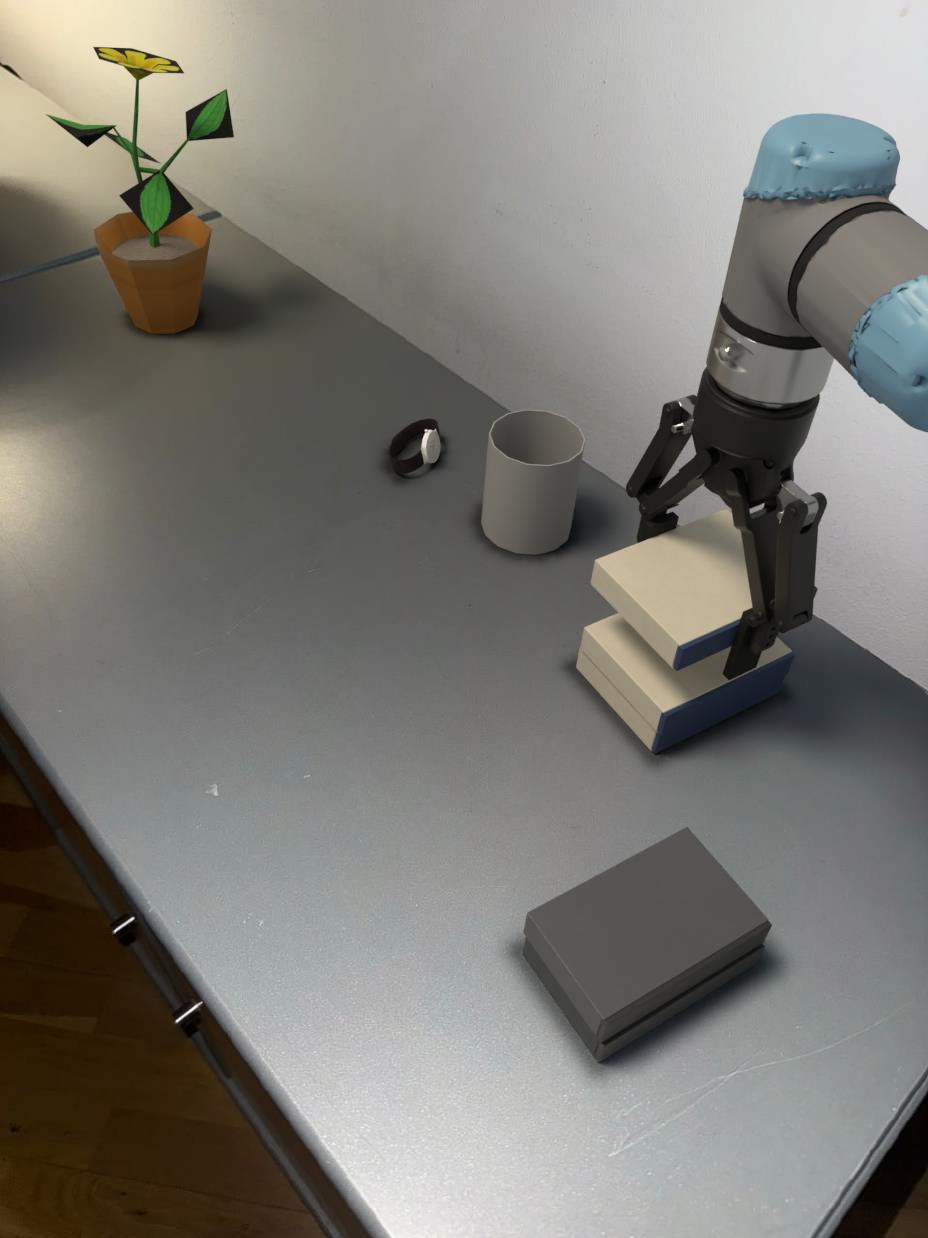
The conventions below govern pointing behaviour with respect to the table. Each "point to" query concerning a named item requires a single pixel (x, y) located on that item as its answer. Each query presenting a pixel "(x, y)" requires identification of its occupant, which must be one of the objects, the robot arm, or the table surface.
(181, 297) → the potted plant
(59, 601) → the table surface
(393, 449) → the watch
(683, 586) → the cream book
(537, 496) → the cup
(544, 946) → the grey stack
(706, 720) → the cream stack
